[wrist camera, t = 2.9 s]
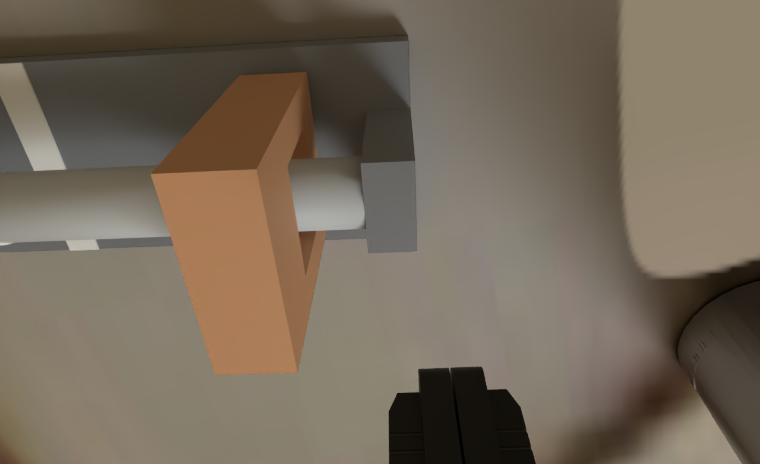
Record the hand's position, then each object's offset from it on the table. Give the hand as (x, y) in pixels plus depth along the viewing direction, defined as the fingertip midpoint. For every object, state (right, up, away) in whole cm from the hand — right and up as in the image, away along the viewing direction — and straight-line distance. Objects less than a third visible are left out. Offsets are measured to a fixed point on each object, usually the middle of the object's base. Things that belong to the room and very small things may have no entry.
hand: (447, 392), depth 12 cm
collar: (-6, +7, +13) cm, 16 cm away
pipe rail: (-12, +8, +14) cm, 20 cm away
